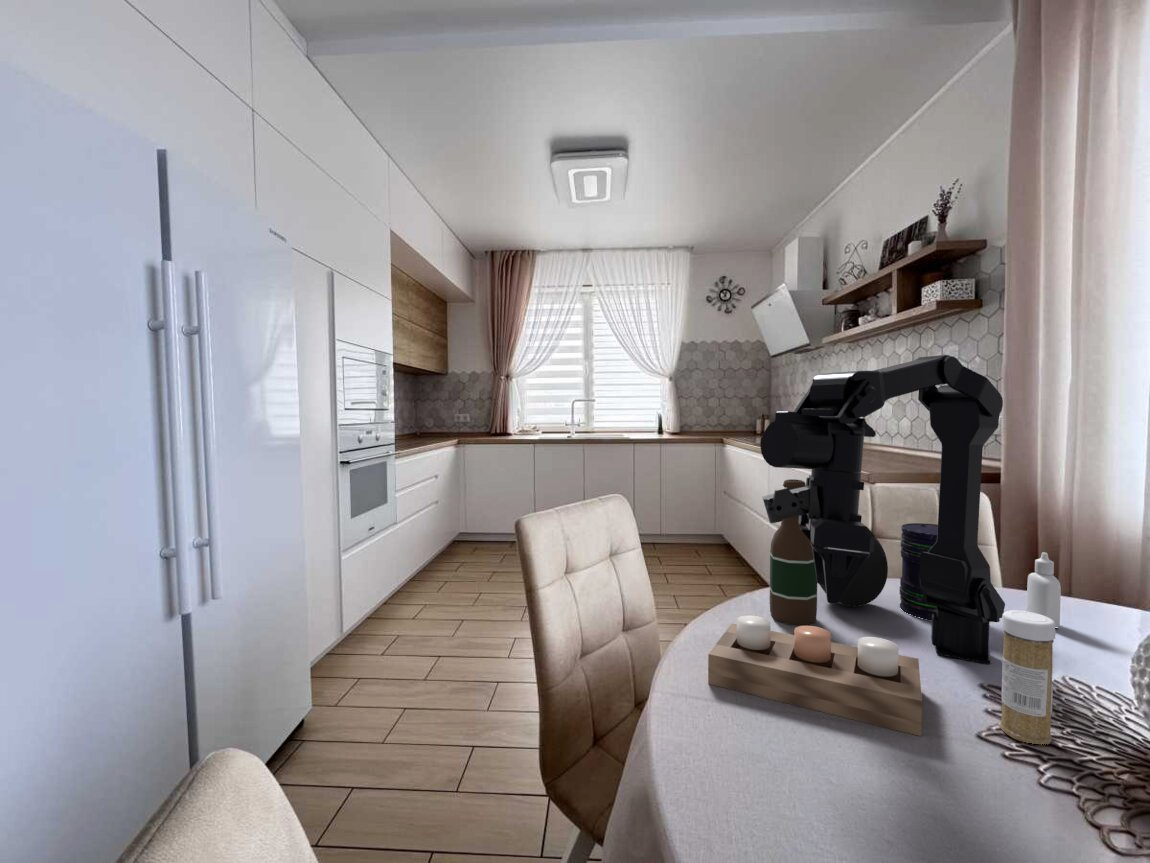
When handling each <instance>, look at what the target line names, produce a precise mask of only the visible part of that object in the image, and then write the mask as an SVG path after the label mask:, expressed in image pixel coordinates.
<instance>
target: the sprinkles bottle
mask: <svg viewBox="0 0 1150 863" xmlns="http://www.w3.org/2000/svg"><path fill="white" fill-rule="evenodd" d="M1001 619H1002V620H1001V629H1002V633H1003V650H1002V651H1003V654H1002V664H1001V665H1002V667H1001V668H1002V669H1001V675H1002V676H1001V720H1000V723H999V726H1000V729H1001V730H1002V731H1003V732H1004V733H1005V734H1006V735H1008V737H1011V738H1013V739H1014V740H1016V741H1019V742H1021V741H1022V742H1021V743H1024V742H1026V743H1025V744H1028V743H1032V744H1031V745H1033V744H1041V745H1040V746H1046V744H1047V745H1049V744H1051V743H1050V742H1052V740H1053V738H1052V734H1051V729H1052V712H1053V693H1054V692H1053V689H1054V688H1053V651H1054V650H1053V644H1054V642H1055V641H1054V640H1055V639H1056V629H1055V622H1054V621H1053V620H1052V619H1050V618H1048V617H1046V616H1043V615H1040V614H1037V613H1032V612H1027V610H1026V611H1025V610H1006V611H1004V613H1003V616H1002V618H1001ZM1042 744H1043V745H1042ZM1044 744H1045V745H1044Z"/></svg>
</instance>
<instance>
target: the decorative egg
mask: <svg viewBox="0 0 1150 863" xmlns="http://www.w3.org/2000/svg"><path fill="white" fill-rule="evenodd" d="M869 553H870V555H869V558H866V560H865V561H864V563H863V564H862V566H861V567H860V569H859V570H858V572H857V573H856V575H855V576H854V578H853V579H852V581H851V583H850V584H849V586H848V587H847V589H846V591H845V592H844V594H843V596H842V597H841V599H840V601H839V602H838V604H840V605H842V606H848V607H861V606H865V605H867V604H870V603H871V602H873V601H874V600H875V599H877V598H878V596H880V594H881V593H882V592H883V590H884V588H885V586H886V583H887V579H888V574H889V566H888V558H887V556H886V552H885V550H884V547H883V545H882V544H881V543H880V541H879V540H878V538H877V537H876V536H875V542H874V552H869ZM818 585H819V586H820V588H821V589H822V591H823V592H824V593H825V594H826V587H825V585H823V584H818Z"/></svg>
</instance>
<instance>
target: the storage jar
mask: <svg viewBox="0 0 1150 863" xmlns="http://www.w3.org/2000/svg"><path fill="white" fill-rule="evenodd" d="M937 528H938V523H937V524H936V523H935V524H934V523H920V522H919V523H918V522H917V523H914V522H913V523H905V524H901V532H902V533H901V536H900V557H901V560H902V562H901V563H902V564H901V566H902V568H901V569H902V570H901V577H900V579H899V580H900V581H899V584H900V586H899V599H900V603H899V609H900V608H901V609H902V610H903V611H904V612H903V611H902V610H901V609H900V610H901V611H902V612H903V613H905V612H906V613H905V614H907V613H908V614H907V615H909V614H911V615H913V616H912V617H914V616H916V617H915V618H917V617H920V618H923V619H922V620H925V619H927V620H926V621H929V620H932V614H933V613H934V614H936V611H937V607H935V606H932V605H927V604H925V602H924V598H923V594H922V589H921V585H920V580H919V578H918V575H919V571H920V555H921V553H922V552H928V551H929V550H930V548H931V547H932V546H933V545H934V544H935V543H936V541H937ZM911 615H910V616H911ZM920 618H919V619H920Z"/></svg>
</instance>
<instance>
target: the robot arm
mask: <svg viewBox="0 0 1150 863" xmlns="http://www.w3.org/2000/svg"><path fill="white" fill-rule="evenodd" d="M939 385H940V386H939ZM937 386H938V387H937ZM913 392H918V397H917V400H918V402H920V404H921V405H922V406H923V407H924V408H925V409H926V410H927V411H928V412H929V425H930V427H931V429H932V431H933V432H934V434H935V436H936V437H937V438H938V441H939V442H940V445H941V454H940V471H939V472H940V473H939V475H940V476H939V494H938V509H937V510H938V511H937V512H938V513H937V525H938V528H937V541H936V543H935V544H934V545H933V546H932V547H931V548H930V550H929V551H928V552H922V553H921V555H920V571H919V575H918V578H919V580H920V585H921V589H922V594H923V598H924V602H925V604H927V605H932V606H935V607H937V611H936V614H934V613H933V614H932V621H931V628H930V629H931V634H930V635H931V636H930V638H931V645H933V647H935V652H936V654H937V655H940V656H945V657H951V658H955V659H961V660H967V661H972V662H978V663H981V664H982V663H983V664H991V663H992V659H991V656H990V654H989V652H990V648H989V647H990V623H1000V620H1001V619H1002V616H1003V613H1004V612H1005V606H1006V603H1005V601H1004V600H1003V598H1002V596H1000V594H999V592H998V591H997V589H996V588H995V586H994V584H993V583H992V582H991V579H992V578H991V566H990V564H989V562H988V561H987V558H986V557H985V556H984V554H983V552H982V551H981V549H980V548H979V545H978V544H979V542H978V540H979V539H978V538H979V522H980V521H979V520H980V502H981V484H982V483H981V482H982V481H981V480H982V465H983V464H982V463H983V449H984V446H985V444H986V443H987V442H988V441H989V439H990V438H991V436H993V434H994V433H995V432H996V431H997V429H998V426H999V421H1000V416H1001V415H1000V414H1001V413H1002V410H1003V407H1004V406H1003V405H1004V401H1003V397H1002V394H1001V393H1000V391H999V390H998V389H997V388H996V386H994V384H993V383H992V382H991V381H990V379H989V378H987V376H984V375H982V374H981V373H978V372H976V371H974V370H972V369H971V368H968V367H966V366H964V365H963V364H962V362H961V361H959V359H958V358H956V356H953V355H952V356H951V355H949V354H941V355H929V356H920V357H918V358H915V359H914V360H912V361H907V362H903V363H898V364H895V365H890V366H886V367H882V368H877V369H874V370H853V371H840V372H838V371H837V372H836V371H835V372H826V373H825V372H824V373H820V374H817V375H815V376H814V377H813V378H812V382H811V385H810V387H809V388H808V389H807V391H806V392H805V394H804V396H803V397H802V398H801V399H800V402H799V403H798V404H797V406H796V408H794V410H793V411H788V410H787V411H786V410H785V411H776V412H775V414H774V415H775V416H774V417H775V418H774V421H772V422H770V423H769V425H767V426H766V428H765V430H764V431H763V434H762V437H760V445H759V446H760V447H759V448H760V452H761V456H762V457H763V459H764V461H765V462H766V463H767V465H769V466H771V467H772V468H777V469H778V468H780V469H782V468H783V469H801V470H802V469H803V470H811V473H810V475H809V474H808V477H806V482H805V484H806V487H801V488H797V489H791V490H789V489H788V488H787V487H783V488H782V489H781V488H780V489H775V490H774V493H772V494H767V495H764V496H762V501H763V504H764V507H765V511H766V515H767V517H768V521H769V523H770V524H775V523H781V521H782V520H783V519H787V518H792V517H796V516H799V520H798V523H799V524H800V525H802V526H805V524H806V527H800V529H801V531H802V532H803V533H804V534H805V535H806V536H807V538H808V539H809V540H810V541H811V543H810V544H811V546H812V551H813V558H814V565H815V571H816V578H817V585H819V584H823V585H825V587H826V593H825V595H826V601H827V603H828V604H835V605H837V604H839V603H838V602H839V601H840V599H841V597H842V596H843V594H844V592H845V591H846V589H847V587H848V586H849V584H850V583H851V581H852V579H853V578H854V576H855V575H856V573H857V572H858V570H859V569H860V567H861V566H862V564H863V563H864V561H865V560H866V558H869V555H870V553H869V552H874V542H875V537H876V535H875V534H874V533H873V532H872V530H870V528H869V527H868V526H866V525H865V524H864V523H862V515H861V514H859V508H860V507H859V506H860V494H861V493H860V492H861V491H864V490H865V489H864V488H865V482H864V481H862V468H863V466H862V465H863V457H864V456H863V454H864V443H865V442H864V441H865V437H866V438H874V437H876V435H877V432H876V430H874V428H873V427H871V425H869V424H868V422H867V420H866V419H865V417H868V416H869V415H871V414H873V413H875V412H877V411H879V410H880V409H883V407H884V406H885V402H887V401H888V400H890V399H893V398H897V397H900V396H903V395H907V394H910V393H913Z"/></svg>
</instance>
